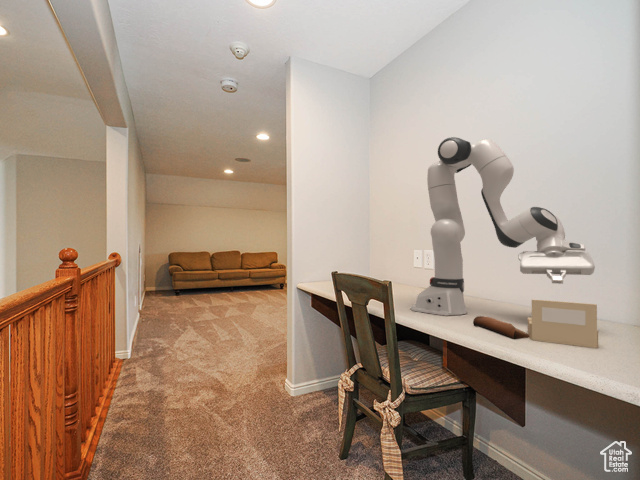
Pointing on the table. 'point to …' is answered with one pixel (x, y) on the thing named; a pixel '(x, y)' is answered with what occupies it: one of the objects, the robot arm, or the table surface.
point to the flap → (564, 323)
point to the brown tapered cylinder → (500, 327)
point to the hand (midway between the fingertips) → (557, 282)
